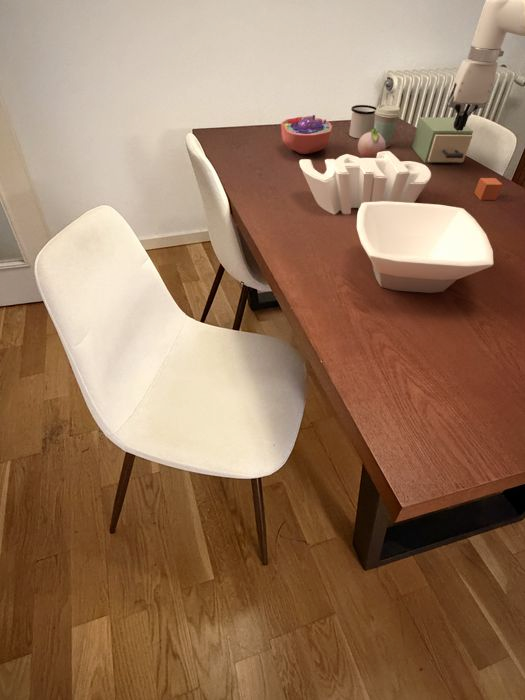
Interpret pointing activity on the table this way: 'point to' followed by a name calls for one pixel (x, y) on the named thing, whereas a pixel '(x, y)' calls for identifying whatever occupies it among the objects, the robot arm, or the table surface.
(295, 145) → the cell model
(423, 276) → the bowl
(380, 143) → the decorative fruit
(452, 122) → the cabinet
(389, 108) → the coffee cup
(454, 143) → the drawer
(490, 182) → the block
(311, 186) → the white wavy slab sculpture
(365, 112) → the mug
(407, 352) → the table surface
